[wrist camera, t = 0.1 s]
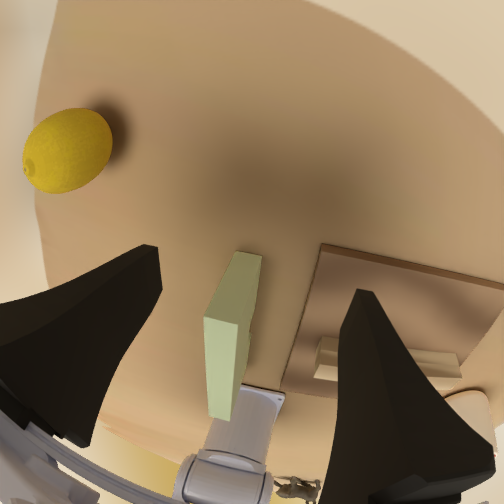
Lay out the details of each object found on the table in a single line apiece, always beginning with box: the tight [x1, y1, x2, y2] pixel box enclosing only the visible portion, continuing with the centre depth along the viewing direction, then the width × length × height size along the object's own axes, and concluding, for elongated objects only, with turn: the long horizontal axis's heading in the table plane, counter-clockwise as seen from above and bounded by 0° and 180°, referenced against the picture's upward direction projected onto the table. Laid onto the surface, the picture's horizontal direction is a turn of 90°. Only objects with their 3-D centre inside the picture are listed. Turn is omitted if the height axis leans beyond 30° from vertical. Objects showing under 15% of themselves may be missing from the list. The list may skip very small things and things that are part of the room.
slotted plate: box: [204, 251, 262, 422], centre depth 23 cm, size 14×2×7 cm, turn 174°
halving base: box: [279, 244, 504, 399], centre depth 22 cm, size 18×18×4 cm
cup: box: [445, 390, 498, 458], centre depth 24 cm, size 10×10×10 cm
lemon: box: [23, 108, 113, 194], centre depth 15 cm, size 6×6×8 cm
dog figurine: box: [274, 477, 321, 504], centre depth 51 cm, size 12×6×8 cm, turn 72°
